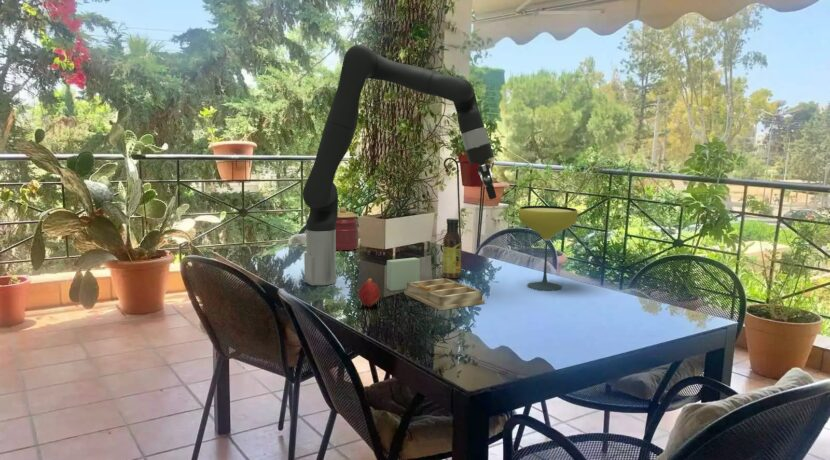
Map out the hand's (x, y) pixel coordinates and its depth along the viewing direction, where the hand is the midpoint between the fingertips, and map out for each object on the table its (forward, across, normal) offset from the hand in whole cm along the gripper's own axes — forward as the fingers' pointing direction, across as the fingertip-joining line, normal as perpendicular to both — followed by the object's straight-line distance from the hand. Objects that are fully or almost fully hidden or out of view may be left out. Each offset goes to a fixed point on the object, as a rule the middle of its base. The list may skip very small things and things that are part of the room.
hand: (492, 197), depth 184 cm
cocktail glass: (+33, -10, +8) cm, 35 cm away
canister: (+8, -67, -65) cm, 94 cm away
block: (+19, -2, -34) cm, 40 cm away
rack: (+24, +10, -22) cm, 34 cm away
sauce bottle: (+23, -20, -21) cm, 37 cm away
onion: (+18, +21, -41) cm, 50 cm away
